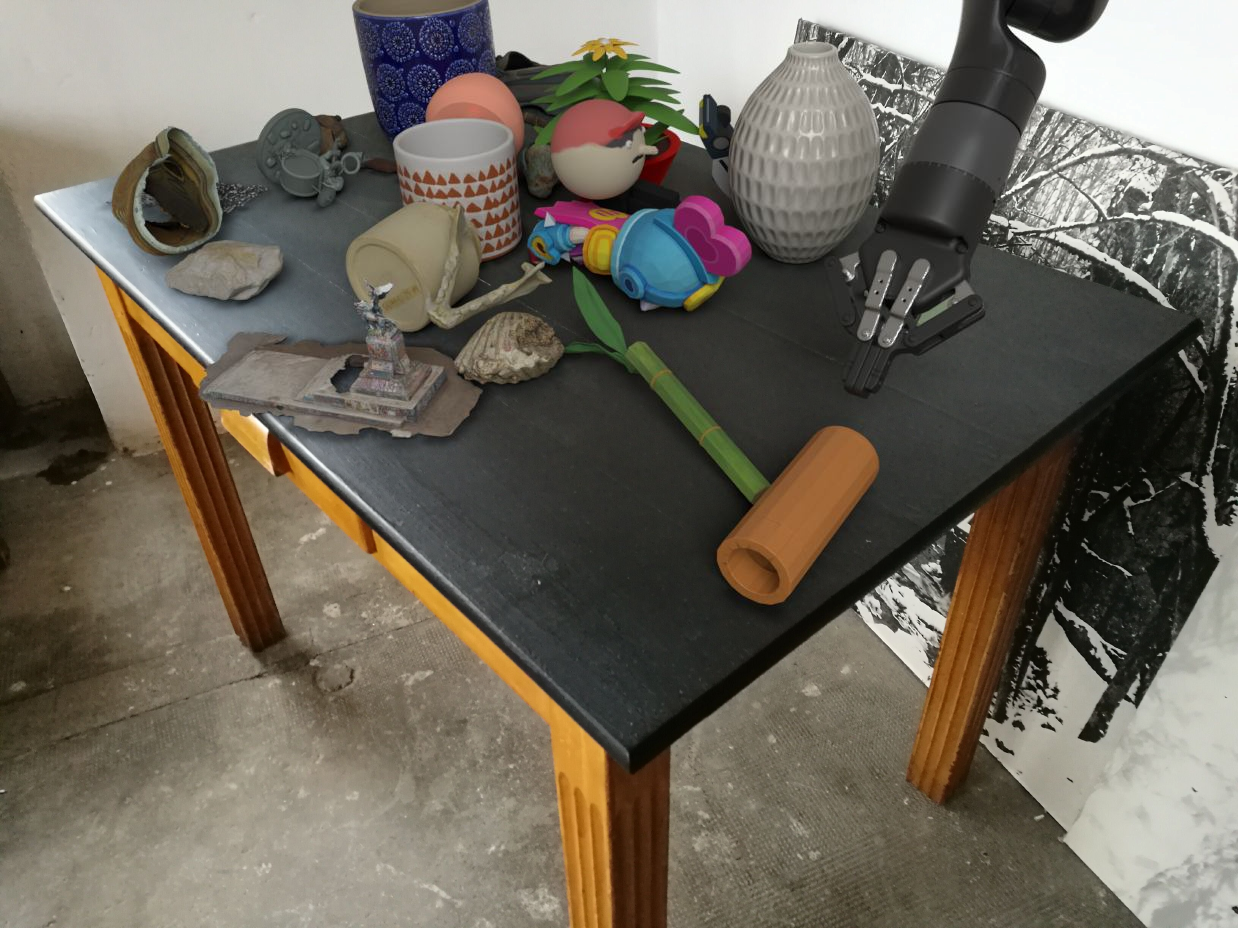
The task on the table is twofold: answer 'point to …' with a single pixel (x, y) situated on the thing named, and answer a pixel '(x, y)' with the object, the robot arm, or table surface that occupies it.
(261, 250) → the stone
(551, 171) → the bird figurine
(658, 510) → the table surface
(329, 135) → the figurine
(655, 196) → the toy
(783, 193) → the vase
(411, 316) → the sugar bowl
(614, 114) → the toy
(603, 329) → the decorative plant
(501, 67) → the loafer
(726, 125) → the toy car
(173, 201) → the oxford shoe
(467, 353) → the seashell
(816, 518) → the jar
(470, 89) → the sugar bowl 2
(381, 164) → the knife
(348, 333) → the table surface
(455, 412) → the monument
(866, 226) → the table surface
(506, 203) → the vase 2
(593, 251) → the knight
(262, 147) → the figurine
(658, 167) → the potted flower
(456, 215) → the jawbone
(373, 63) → the planter
